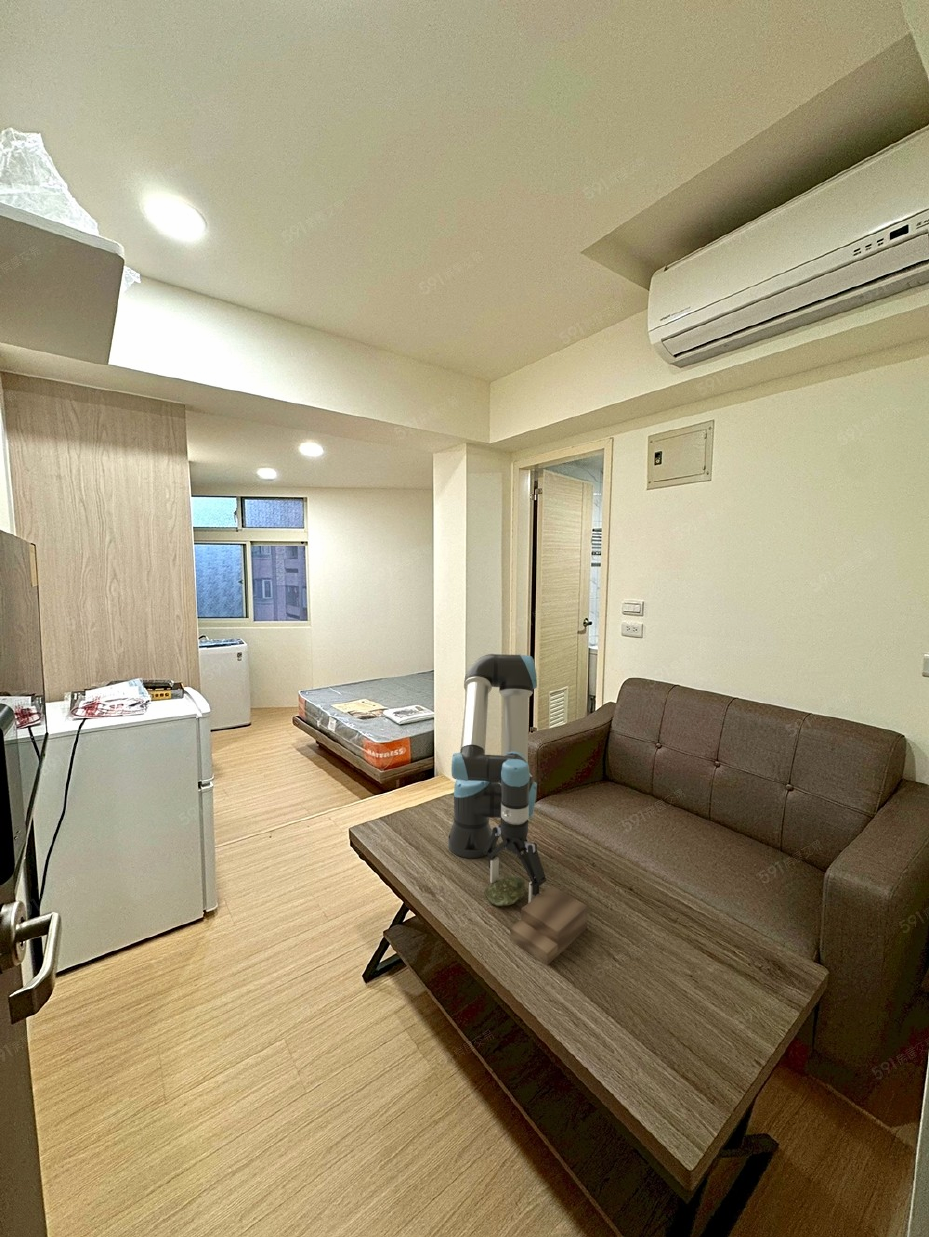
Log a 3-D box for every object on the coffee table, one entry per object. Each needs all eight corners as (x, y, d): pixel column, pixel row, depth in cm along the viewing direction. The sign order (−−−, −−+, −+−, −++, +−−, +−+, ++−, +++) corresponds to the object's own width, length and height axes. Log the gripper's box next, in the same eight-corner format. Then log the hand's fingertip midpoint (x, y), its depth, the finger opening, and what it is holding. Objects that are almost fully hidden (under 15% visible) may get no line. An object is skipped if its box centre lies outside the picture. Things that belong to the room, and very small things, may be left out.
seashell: (477, 888, 134) (500, 858, 136) (490, 896, 138) (511, 866, 140) (501, 915, 126) (524, 883, 128) (513, 923, 130) (535, 891, 132)
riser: (510, 939, 118) (510, 916, 117) (551, 906, 129) (551, 885, 129) (547, 965, 110) (547, 941, 109) (586, 928, 122) (587, 905, 121)
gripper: (472, 806, 137) (470, 877, 138) (543, 841, 119) (541, 922, 120) (489, 798, 142) (488, 866, 144) (561, 830, 124) (558, 908, 126)
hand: (512, 892), depth 132 cm, fingers open, 13 cm apart
